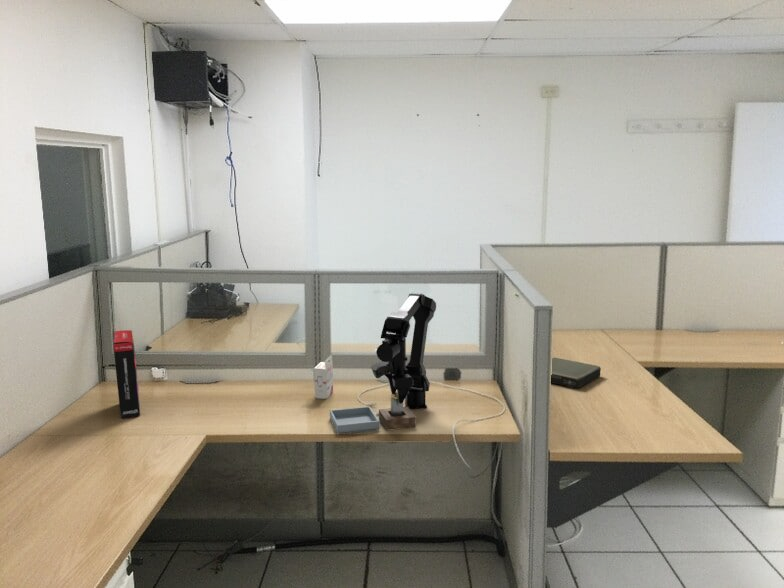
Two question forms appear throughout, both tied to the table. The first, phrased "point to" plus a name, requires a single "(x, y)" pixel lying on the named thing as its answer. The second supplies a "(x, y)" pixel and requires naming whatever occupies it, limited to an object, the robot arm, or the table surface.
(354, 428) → the tray
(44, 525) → the table surface
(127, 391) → the graphics card box
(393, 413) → the steel pin
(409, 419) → the hitch block
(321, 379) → the ink cartridge box
